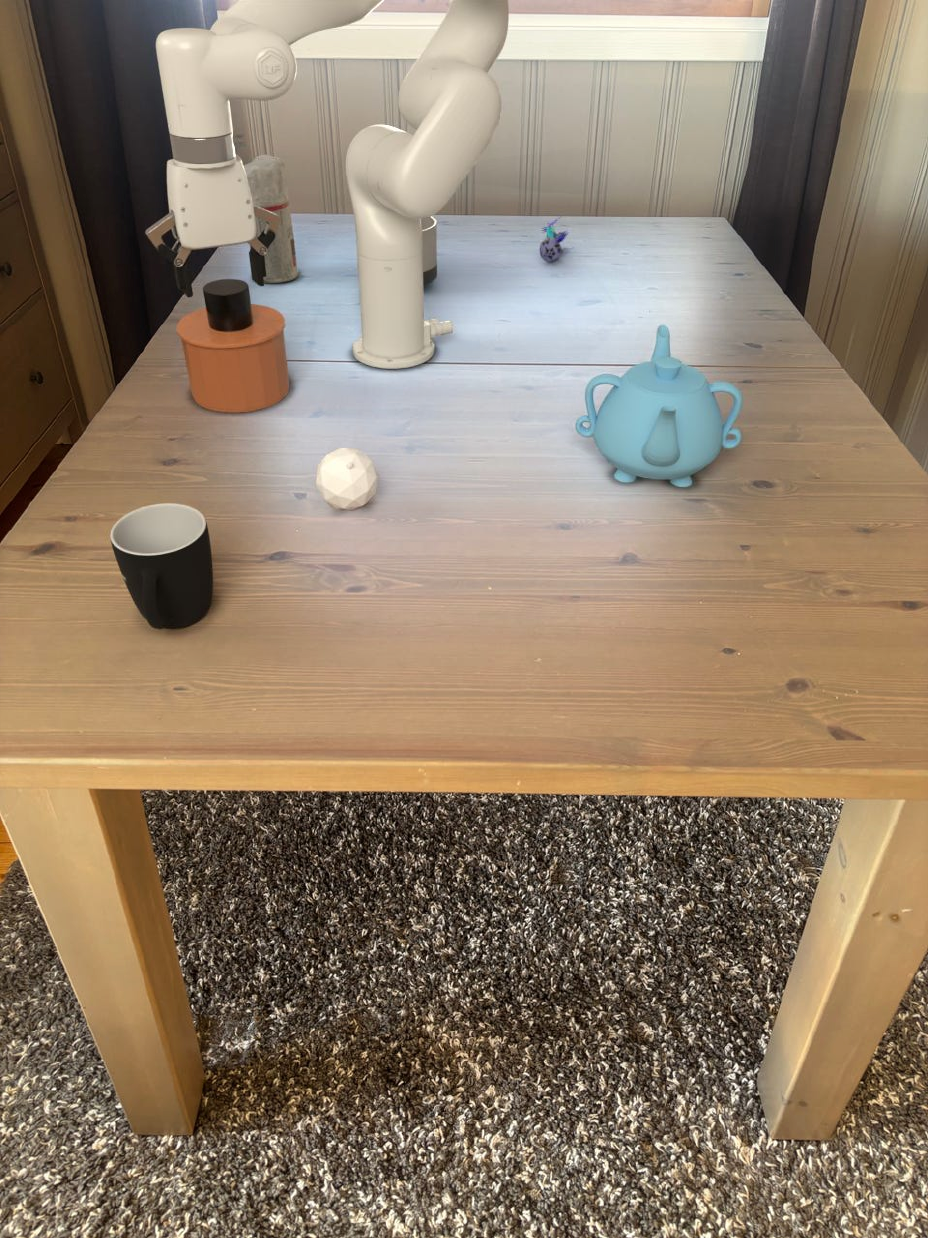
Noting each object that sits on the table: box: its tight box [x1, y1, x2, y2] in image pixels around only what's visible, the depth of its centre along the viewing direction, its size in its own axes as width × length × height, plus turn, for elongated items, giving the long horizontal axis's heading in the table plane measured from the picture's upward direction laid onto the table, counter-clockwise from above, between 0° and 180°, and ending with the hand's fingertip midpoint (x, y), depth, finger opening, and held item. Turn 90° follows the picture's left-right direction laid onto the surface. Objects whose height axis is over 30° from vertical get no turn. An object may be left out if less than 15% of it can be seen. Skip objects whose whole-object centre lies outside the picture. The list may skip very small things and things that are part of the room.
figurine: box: [539, 216, 573, 264], centre depth 180 cm, size 7×6×12 cm
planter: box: [420, 216, 438, 287], centre depth 166 cm, size 13×13×10 cm
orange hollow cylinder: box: [180, 330, 290, 414], centre depth 132 cm, size 14×14×10 cm
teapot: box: [575, 324, 744, 488], centre depth 115 cm, size 16×20×14 cm
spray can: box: [243, 154, 299, 284], centre depth 164 cm, size 8×8×20 cm
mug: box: [109, 502, 214, 630], centre depth 92 cm, size 12×9×10 cm
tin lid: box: [176, 278, 286, 348], centre depth 127 cm, size 15×15×6 cm
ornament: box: [315, 446, 379, 511], centre depth 109 cm, size 7×7×8 cm
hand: (223, 288), depth 125 cm, fingers open, 9 cm apart
